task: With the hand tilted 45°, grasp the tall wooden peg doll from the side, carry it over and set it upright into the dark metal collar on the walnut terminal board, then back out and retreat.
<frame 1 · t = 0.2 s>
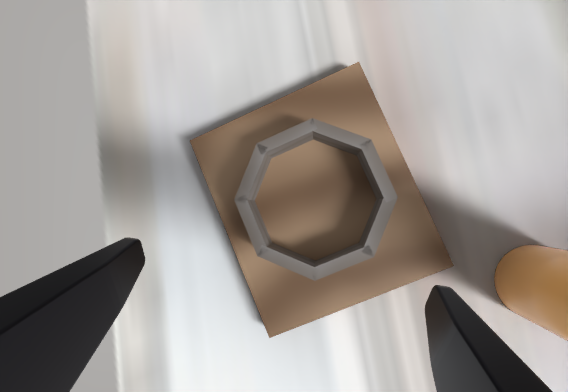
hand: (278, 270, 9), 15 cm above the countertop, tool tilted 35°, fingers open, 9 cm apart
wooden peg doll: (533, 281, 22), on the countertop
terminal board: (314, 200, 24), on the countertop
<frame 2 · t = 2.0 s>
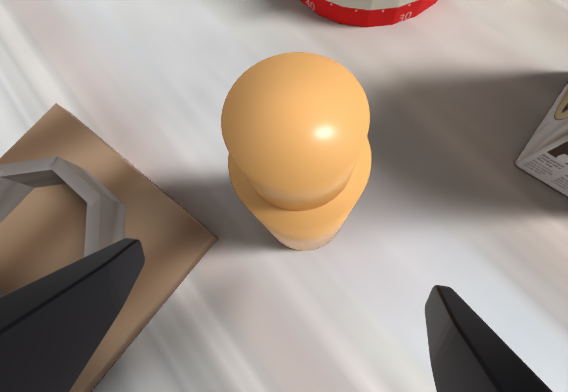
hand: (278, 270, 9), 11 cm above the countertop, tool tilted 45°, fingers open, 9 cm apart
wooden peg doll: (304, 211, 21), on the countertop
terminal board: (70, 246, 22), on the countertop
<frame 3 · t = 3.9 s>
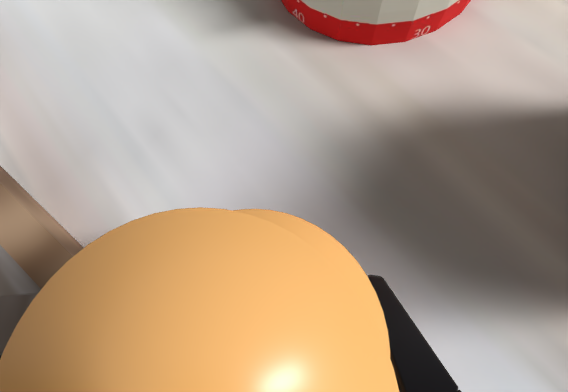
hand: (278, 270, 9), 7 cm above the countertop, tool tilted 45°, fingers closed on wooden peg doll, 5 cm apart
wooden peg doll: (287, 299, 15), on the countertop, touching gripper
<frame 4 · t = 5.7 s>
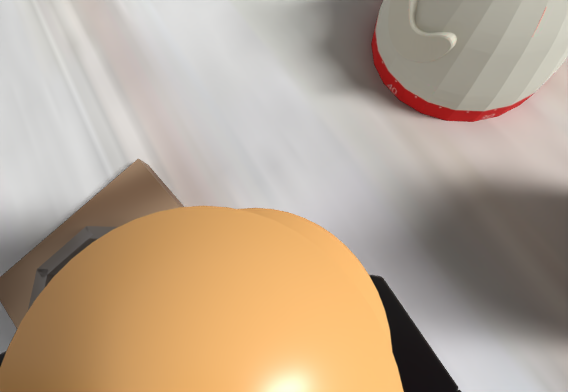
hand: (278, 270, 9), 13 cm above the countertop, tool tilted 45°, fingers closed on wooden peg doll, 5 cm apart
kitchen timer: (454, 48, 26), on the countertop
wooden peg doll: (288, 299, 15), point 7 cm above the countertop, touching gripper
terminal board: (137, 299, 23), on the countertop
when the fingers open (9 cm above the countertop, at t = 7.9 s): wooden peg doll drops 1 cm, resting on terminal board.
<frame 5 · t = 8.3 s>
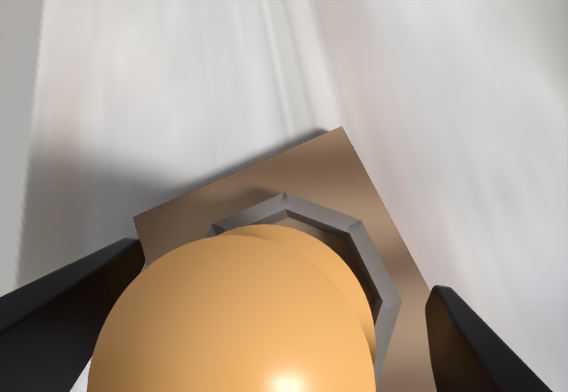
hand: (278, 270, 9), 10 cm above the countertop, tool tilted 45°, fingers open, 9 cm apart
wooden peg doll: (289, 297, 17), point 2 cm above the countertop, touching terminal board
terminal board: (291, 295, 18), on the countertop
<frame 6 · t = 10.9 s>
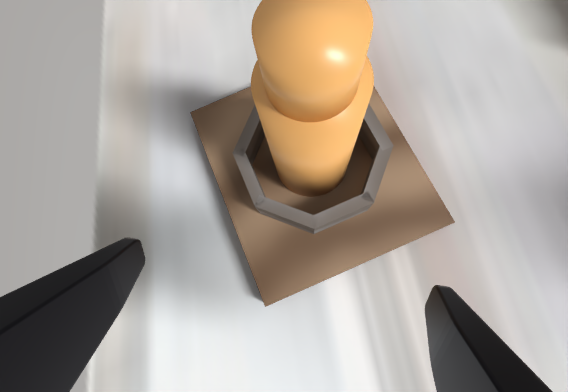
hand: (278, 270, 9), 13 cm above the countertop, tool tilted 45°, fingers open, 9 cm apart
wooden peg doll: (311, 162, 23), point 2 cm above the countertop, touching terminal board
terminal board: (311, 169, 24), on the countertop
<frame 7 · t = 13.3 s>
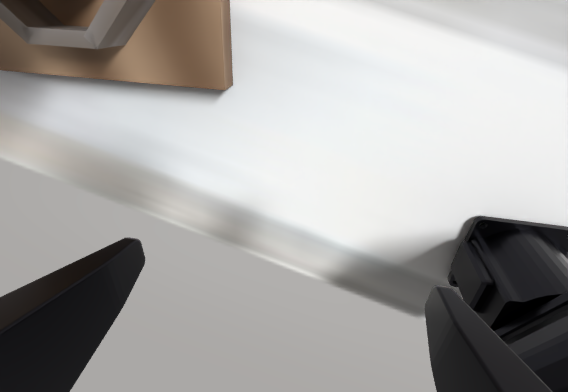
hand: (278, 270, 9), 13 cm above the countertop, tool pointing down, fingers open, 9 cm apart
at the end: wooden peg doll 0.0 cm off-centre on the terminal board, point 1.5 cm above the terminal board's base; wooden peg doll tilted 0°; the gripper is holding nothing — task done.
